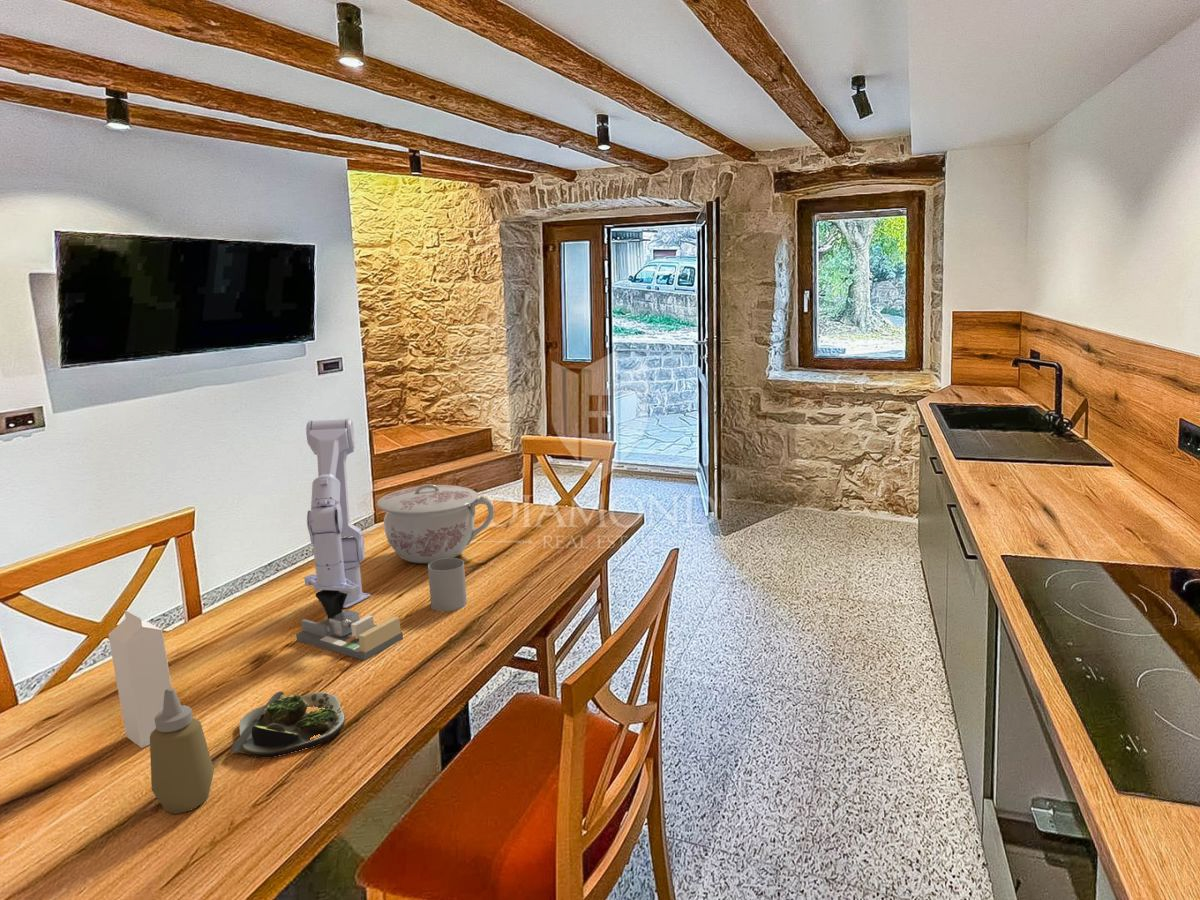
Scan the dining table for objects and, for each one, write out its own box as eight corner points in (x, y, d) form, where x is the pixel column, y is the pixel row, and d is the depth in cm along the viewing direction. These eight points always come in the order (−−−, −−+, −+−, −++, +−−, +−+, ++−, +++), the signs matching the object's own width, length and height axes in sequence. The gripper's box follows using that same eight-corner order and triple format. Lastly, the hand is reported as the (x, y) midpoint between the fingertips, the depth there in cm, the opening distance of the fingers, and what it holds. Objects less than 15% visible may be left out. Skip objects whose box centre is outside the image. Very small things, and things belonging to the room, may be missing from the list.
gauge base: (296, 640, 163) (294, 618, 162) (336, 620, 173) (334, 599, 172) (364, 660, 154) (362, 637, 153) (402, 638, 163) (401, 616, 162)
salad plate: (231, 712, 137) (227, 688, 136) (335, 687, 144) (332, 665, 143) (232, 772, 120) (228, 745, 119) (350, 740, 127) (347, 715, 126)
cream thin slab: (344, 641, 157) (343, 628, 156) (370, 628, 163) (368, 615, 162) (349, 643, 156) (347, 629, 156) (374, 629, 162) (373, 616, 162)
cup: (458, 612, 175) (455, 571, 173) (425, 610, 177) (421, 569, 175) (471, 598, 183) (469, 558, 181) (439, 596, 185) (436, 557, 183)
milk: (162, 721, 134) (144, 603, 129) (179, 732, 130) (160, 611, 126) (125, 737, 129) (104, 615, 124) (141, 749, 125) (120, 624, 121)
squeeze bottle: (199, 777, 118) (183, 670, 114) (228, 796, 113) (212, 685, 109) (144, 807, 111) (125, 695, 107) (173, 827, 107) (153, 711, 103)
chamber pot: (360, 561, 210) (353, 488, 206) (434, 534, 232) (429, 467, 228) (431, 581, 194) (425, 503, 190) (503, 550, 216) (499, 479, 212)
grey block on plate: (330, 633, 162) (329, 618, 161) (348, 624, 166) (347, 609, 165) (352, 639, 159) (350, 624, 158) (370, 630, 163) (368, 615, 162)
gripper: (290, 562, 161) (297, 621, 164) (338, 573, 154) (345, 635, 157) (317, 552, 167) (323, 609, 170) (364, 562, 160) (370, 622, 163)
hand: (335, 621), depth 164 cm, fingers closed
